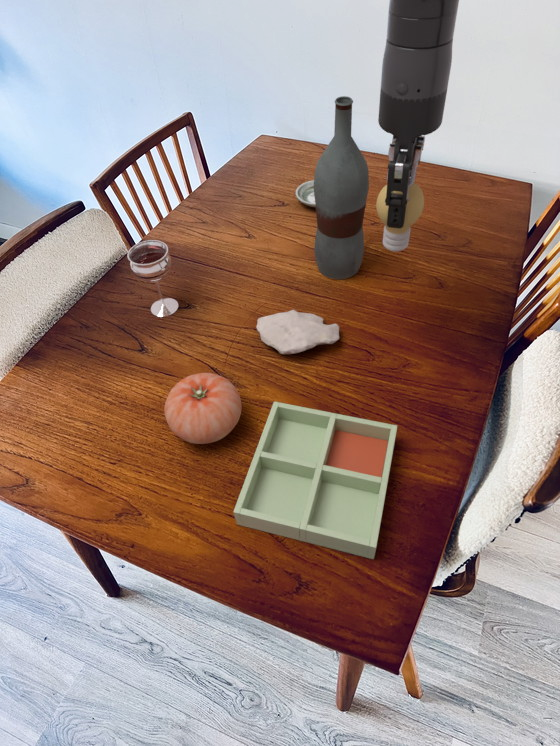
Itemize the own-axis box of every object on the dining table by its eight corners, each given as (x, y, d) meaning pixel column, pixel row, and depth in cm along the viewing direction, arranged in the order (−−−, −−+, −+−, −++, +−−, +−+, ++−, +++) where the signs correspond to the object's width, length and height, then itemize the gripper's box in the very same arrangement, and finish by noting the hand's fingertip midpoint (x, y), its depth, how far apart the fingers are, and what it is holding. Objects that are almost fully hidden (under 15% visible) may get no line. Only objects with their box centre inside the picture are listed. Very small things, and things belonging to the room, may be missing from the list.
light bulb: (381, 230, 79) (387, 167, 72) (423, 239, 77) (433, 175, 69) (366, 253, 76) (370, 190, 68) (409, 263, 73) (418, 199, 66)
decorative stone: (349, 328, 88) (269, 314, 93) (349, 309, 85) (267, 296, 91) (327, 367, 80) (241, 349, 86) (326, 347, 78) (238, 330, 83)
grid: (394, 440, 73) (397, 425, 70) (373, 559, 62) (376, 547, 59) (275, 415, 76) (273, 401, 74) (236, 524, 66) (233, 511, 63)
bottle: (307, 257, 100) (303, 93, 78) (351, 246, 102) (359, 82, 79) (324, 286, 95) (326, 118, 72) (371, 274, 96) (386, 106, 73)
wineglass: (189, 310, 93) (175, 255, 83) (154, 325, 90) (135, 270, 81) (174, 289, 96) (158, 234, 87) (140, 304, 94) (120, 249, 85)
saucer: (290, 211, 111) (290, 200, 109) (302, 187, 117) (302, 177, 115) (334, 216, 109) (334, 205, 107) (344, 192, 115) (344, 181, 113)
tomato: (203, 384, 81) (194, 349, 75) (259, 414, 77) (254, 380, 71) (155, 432, 76) (141, 399, 70) (212, 468, 71) (202, 436, 65)
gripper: (441, 111, 54) (419, 246, 67) (453, 60, 63) (432, 188, 75) (369, 107, 56) (362, 239, 68) (391, 58, 65) (381, 183, 77)
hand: (399, 211), depth 72 cm, fingers closed on light bulb, 6 cm apart
